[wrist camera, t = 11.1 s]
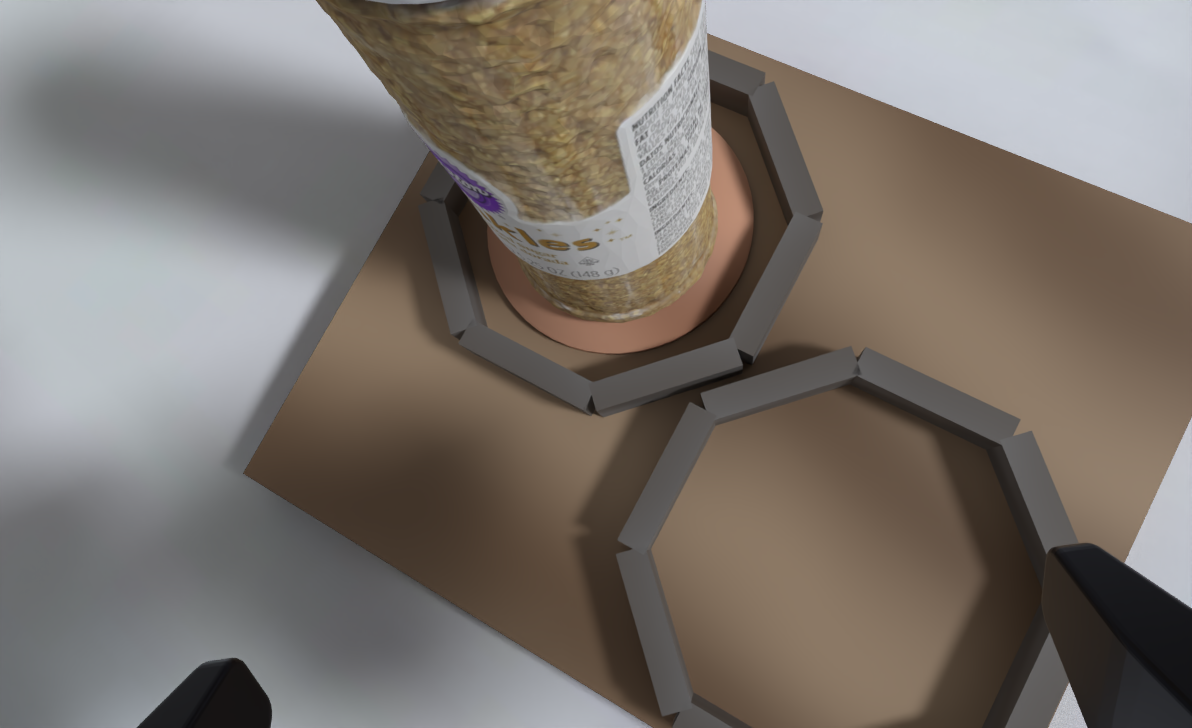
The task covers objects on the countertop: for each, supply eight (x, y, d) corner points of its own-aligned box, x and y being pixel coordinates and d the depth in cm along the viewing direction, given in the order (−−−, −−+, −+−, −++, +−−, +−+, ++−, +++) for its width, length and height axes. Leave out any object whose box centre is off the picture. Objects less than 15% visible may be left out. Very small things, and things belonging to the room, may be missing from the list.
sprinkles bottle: (483, 275, 19) (-100, -299, 6) (578, 104, 19) (243, -806, 6) (662, 364, 18) (464, -83, 5) (759, 181, 18) (834, -714, 5)
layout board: (944, 889, 16) (976, 945, 14) (271, 476, 20) (216, 470, 18) (1231, 271, 17) (1301, 236, 15) (547, -4, 21) (526, -62, 19)
